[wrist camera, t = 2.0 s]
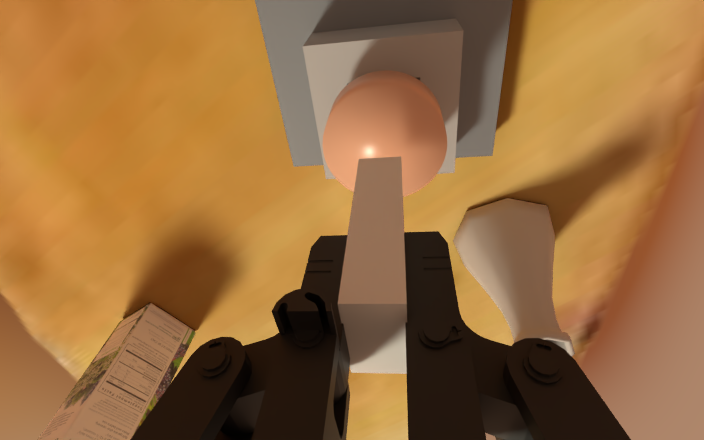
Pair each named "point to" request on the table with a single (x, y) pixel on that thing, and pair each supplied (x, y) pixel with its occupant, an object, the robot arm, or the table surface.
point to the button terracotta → (386, 128)
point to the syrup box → (123, 379)
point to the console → (387, 62)
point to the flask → (514, 265)
